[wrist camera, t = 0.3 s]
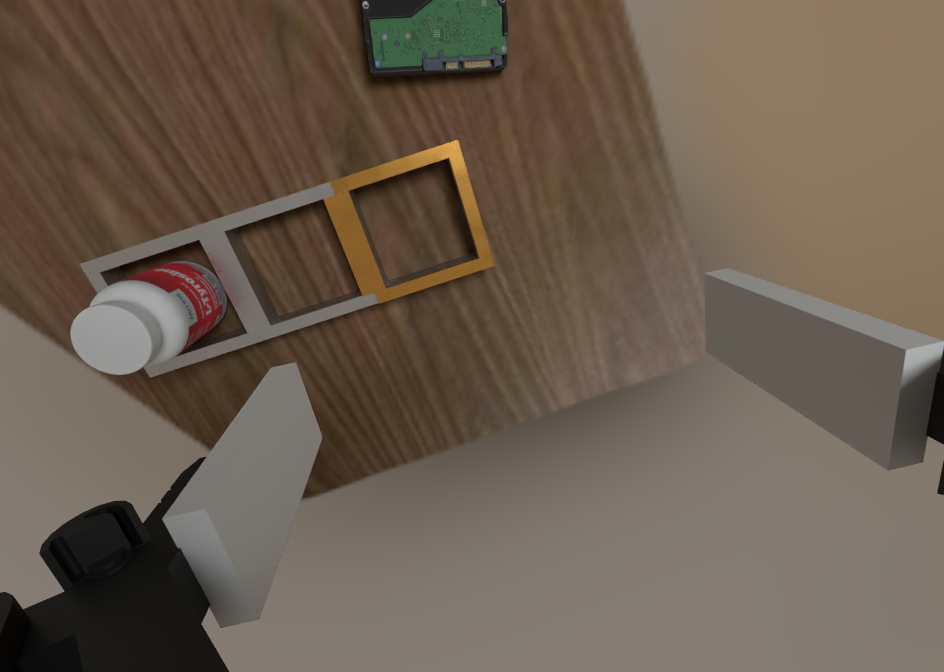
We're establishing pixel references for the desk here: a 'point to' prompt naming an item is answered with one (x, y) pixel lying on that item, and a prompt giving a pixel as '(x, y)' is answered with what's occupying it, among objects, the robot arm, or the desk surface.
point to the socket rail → (353, 235)
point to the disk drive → (435, 36)
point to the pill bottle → (148, 317)
